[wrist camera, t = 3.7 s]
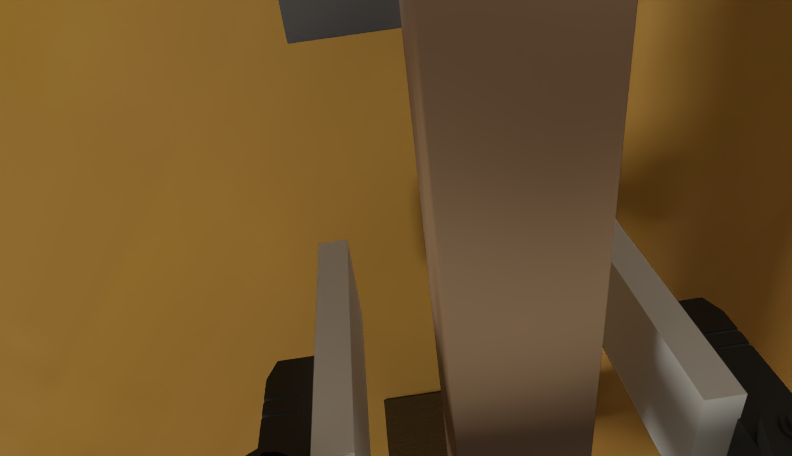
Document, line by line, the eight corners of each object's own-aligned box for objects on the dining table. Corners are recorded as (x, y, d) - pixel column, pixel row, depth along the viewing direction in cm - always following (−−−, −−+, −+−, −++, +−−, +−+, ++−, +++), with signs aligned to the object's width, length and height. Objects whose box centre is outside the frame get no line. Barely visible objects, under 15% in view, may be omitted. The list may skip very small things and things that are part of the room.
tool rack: (541, 428, 24) (596, 583, 19) (393, 450, 24) (409, 611, 19) (558, -219, 13) (710, -263, 7) (276, -180, 12) (236, -198, 7)
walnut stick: (541, 614, 20) (565, 705, 18) (466, 625, 20) (481, 718, 18) (579, -413, 7) (692, -532, 5) (357, -384, 7) (368, -490, 5)
